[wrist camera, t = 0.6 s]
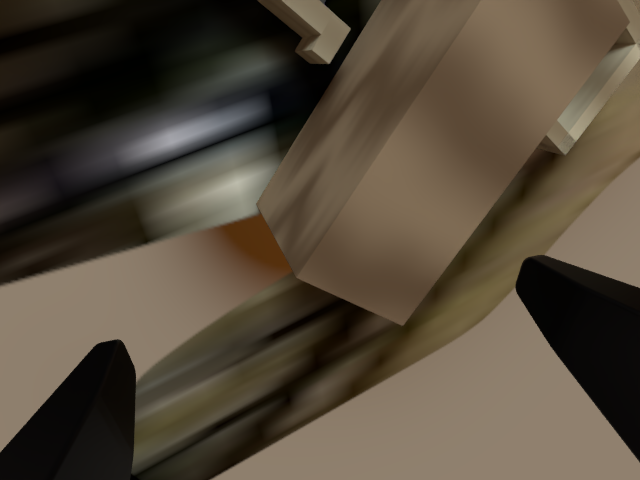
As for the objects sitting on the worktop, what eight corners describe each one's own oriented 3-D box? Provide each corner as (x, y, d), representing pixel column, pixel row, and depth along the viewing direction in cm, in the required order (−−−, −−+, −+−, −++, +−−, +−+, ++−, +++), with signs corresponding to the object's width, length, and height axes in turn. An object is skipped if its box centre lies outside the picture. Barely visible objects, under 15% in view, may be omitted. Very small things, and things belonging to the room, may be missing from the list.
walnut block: (334, 244, 25) (402, 325, 18) (255, 203, 22) (296, 277, 15) (475, 35, 23) (630, 22, 15) (406, -43, 20) (553, -109, 12)
